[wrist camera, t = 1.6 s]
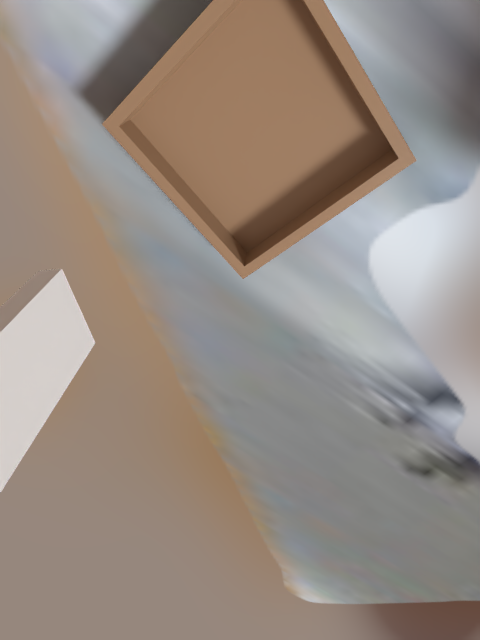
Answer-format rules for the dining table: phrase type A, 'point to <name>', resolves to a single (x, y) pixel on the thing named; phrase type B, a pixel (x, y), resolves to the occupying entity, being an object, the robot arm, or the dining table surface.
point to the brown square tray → (260, 126)
